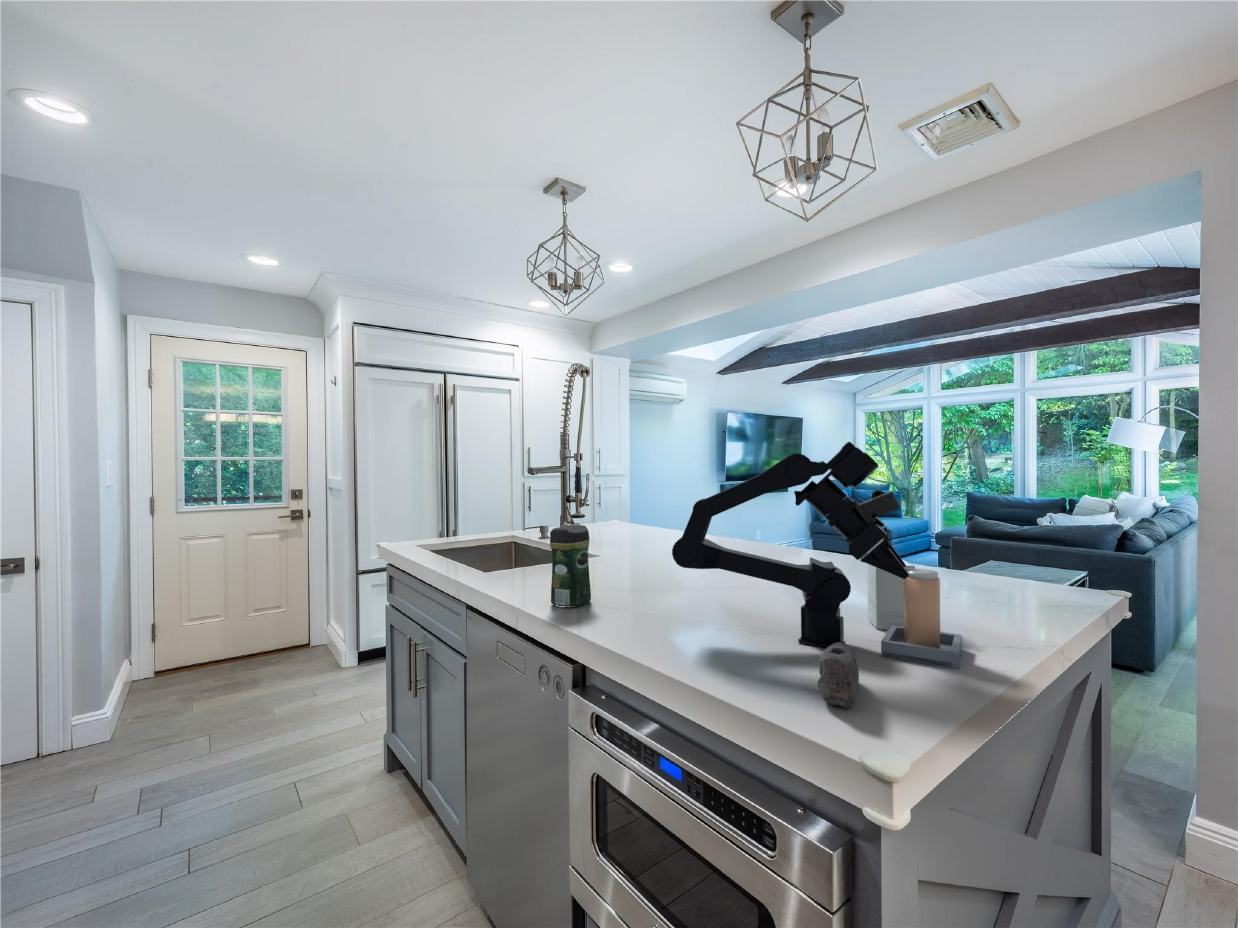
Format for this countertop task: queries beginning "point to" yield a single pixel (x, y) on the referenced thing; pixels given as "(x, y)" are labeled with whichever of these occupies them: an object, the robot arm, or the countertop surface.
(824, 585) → the robot arm
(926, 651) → the tray
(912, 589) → the shaker
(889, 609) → the supplement box
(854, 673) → the perforated stone tool
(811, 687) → the countertop surface
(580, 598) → the coffee jar
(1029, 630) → the countertop surface
